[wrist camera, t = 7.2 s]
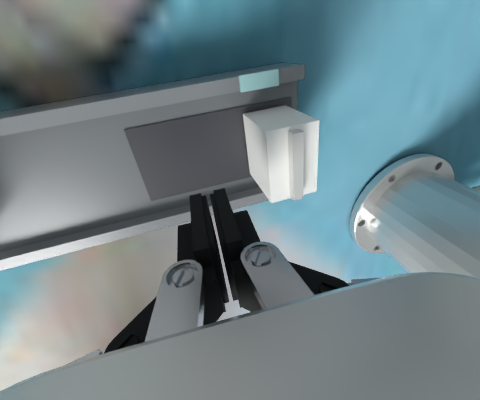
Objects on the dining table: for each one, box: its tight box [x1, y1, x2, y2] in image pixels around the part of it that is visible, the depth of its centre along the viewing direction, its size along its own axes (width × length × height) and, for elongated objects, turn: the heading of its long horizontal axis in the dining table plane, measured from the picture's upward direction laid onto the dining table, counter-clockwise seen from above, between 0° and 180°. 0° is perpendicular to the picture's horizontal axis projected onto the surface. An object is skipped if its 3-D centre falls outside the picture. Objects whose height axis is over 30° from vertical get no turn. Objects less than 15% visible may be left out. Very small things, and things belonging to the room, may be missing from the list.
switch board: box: [0, 63, 305, 271], centre depth 17 cm, size 32×9×4 cm, turn 96°
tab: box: [243, 105, 319, 203], centre depth 16 cm, size 3×4×5 cm
